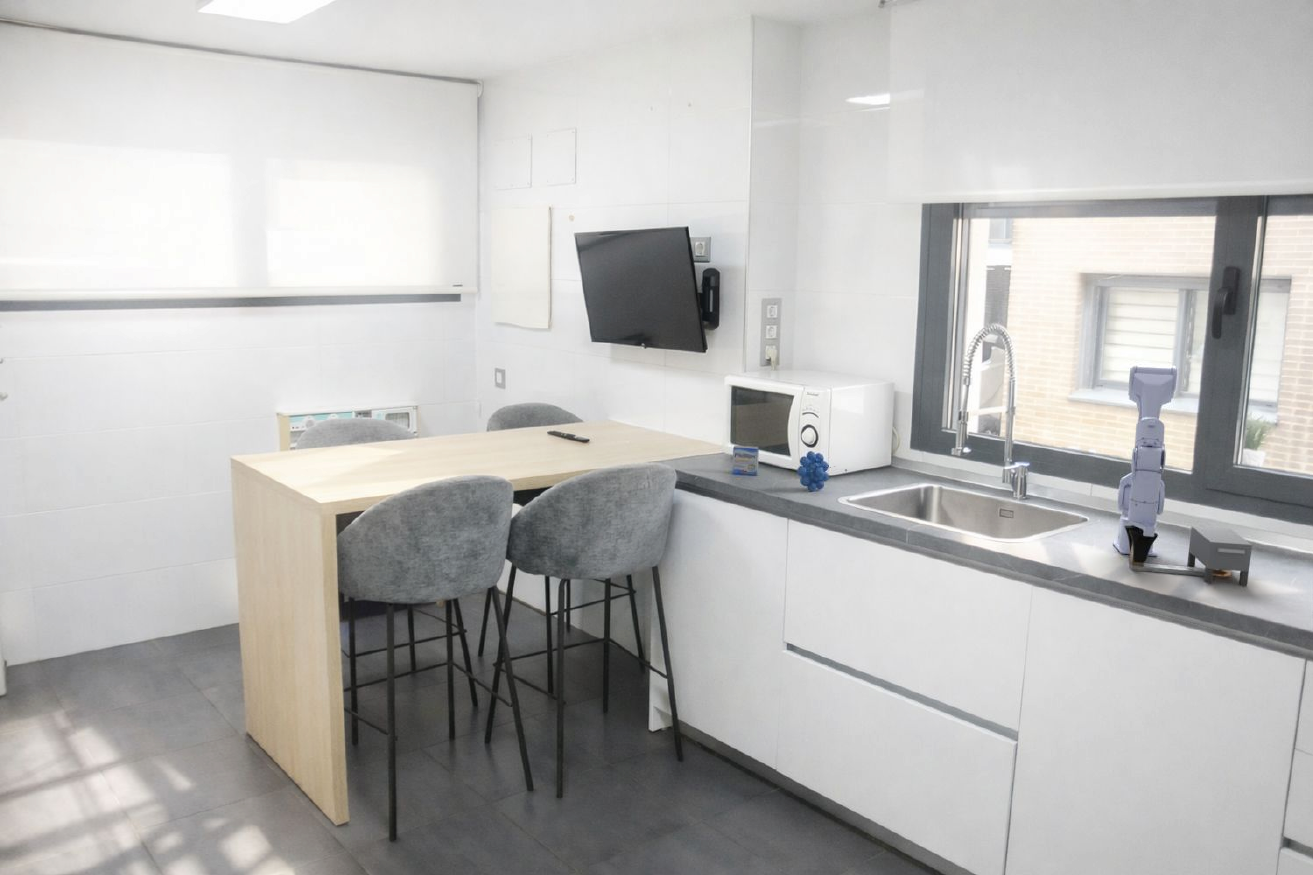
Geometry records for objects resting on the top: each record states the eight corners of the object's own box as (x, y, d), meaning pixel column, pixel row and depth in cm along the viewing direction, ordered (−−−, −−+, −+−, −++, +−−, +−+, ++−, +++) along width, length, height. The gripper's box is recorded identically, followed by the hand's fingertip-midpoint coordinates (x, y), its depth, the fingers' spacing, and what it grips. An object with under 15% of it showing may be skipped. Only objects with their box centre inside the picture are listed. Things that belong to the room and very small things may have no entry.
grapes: (806, 496, 294) (808, 454, 292) (791, 491, 300) (793, 451, 298) (837, 492, 301) (839, 451, 299) (821, 487, 306) (823, 448, 304)
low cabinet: (1187, 564, 233) (1191, 526, 232) (1225, 567, 232) (1230, 528, 230) (1207, 583, 219) (1211, 542, 217) (1248, 587, 217) (1253, 545, 216)
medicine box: (731, 474, 323) (732, 447, 321) (733, 471, 327) (734, 444, 326) (757, 475, 322) (758, 448, 320) (758, 473, 326) (759, 446, 325)
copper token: (1200, 572, 229) (1201, 565, 228) (1225, 573, 228) (1225, 567, 227) (1208, 578, 224) (1209, 572, 223) (1233, 580, 223) (1234, 573, 223)
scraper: (1128, 566, 231) (1131, 538, 230) (1202, 572, 228) (1205, 543, 226) (1131, 570, 228) (1134, 541, 227) (1206, 576, 225) (1209, 547, 224)
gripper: (1117, 492, 234) (1111, 550, 237) (1132, 506, 220) (1125, 567, 223) (1150, 494, 233) (1144, 552, 235) (1167, 508, 219) (1160, 570, 221)
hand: (1137, 560), depth 229 cm, fingers closed on scraper, 2 cm apart
